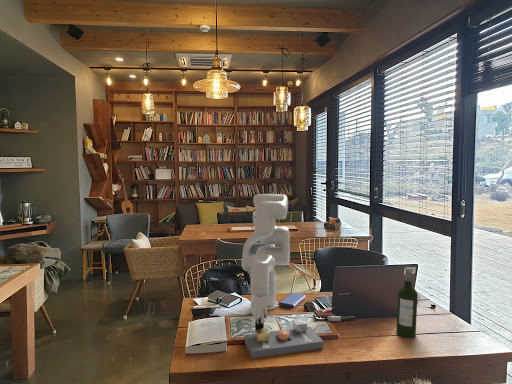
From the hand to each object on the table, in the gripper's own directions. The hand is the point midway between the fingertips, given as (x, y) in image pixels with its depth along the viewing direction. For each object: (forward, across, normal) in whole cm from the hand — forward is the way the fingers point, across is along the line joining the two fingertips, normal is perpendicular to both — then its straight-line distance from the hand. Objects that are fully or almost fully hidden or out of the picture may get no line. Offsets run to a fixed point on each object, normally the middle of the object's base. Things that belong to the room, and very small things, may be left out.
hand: (259, 331), depth 145 cm
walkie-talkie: (+5, -14, +42) cm, 44 cm away
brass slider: (+1, +4, 0) cm, 4 cm away
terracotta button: (+2, +4, +9) cm, 10 cm away
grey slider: (+1, 0, +18) cm, 18 cm away
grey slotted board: (+5, +4, +9) cm, 11 cm away
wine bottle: (+5, +9, +65) cm, 66 cm away
